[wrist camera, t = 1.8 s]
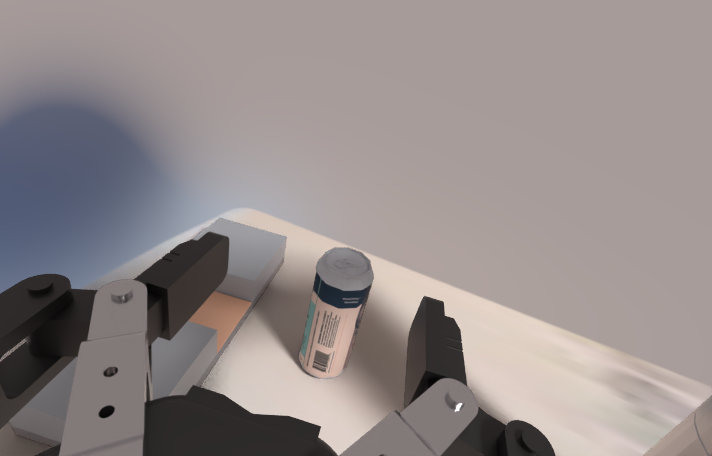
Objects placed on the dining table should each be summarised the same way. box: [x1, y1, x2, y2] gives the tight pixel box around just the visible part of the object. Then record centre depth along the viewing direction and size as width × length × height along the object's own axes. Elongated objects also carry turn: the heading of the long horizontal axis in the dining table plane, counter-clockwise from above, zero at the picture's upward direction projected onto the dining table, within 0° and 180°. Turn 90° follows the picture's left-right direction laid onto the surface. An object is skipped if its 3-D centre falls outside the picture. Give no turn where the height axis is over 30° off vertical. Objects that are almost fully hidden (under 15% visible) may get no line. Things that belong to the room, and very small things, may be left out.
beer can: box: [299, 248, 374, 379], centre depth 31 cm, size 5×5×12 cm
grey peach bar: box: [9, 218, 287, 447], centre depth 33 cm, size 9×26×4 cm, turn 169°
